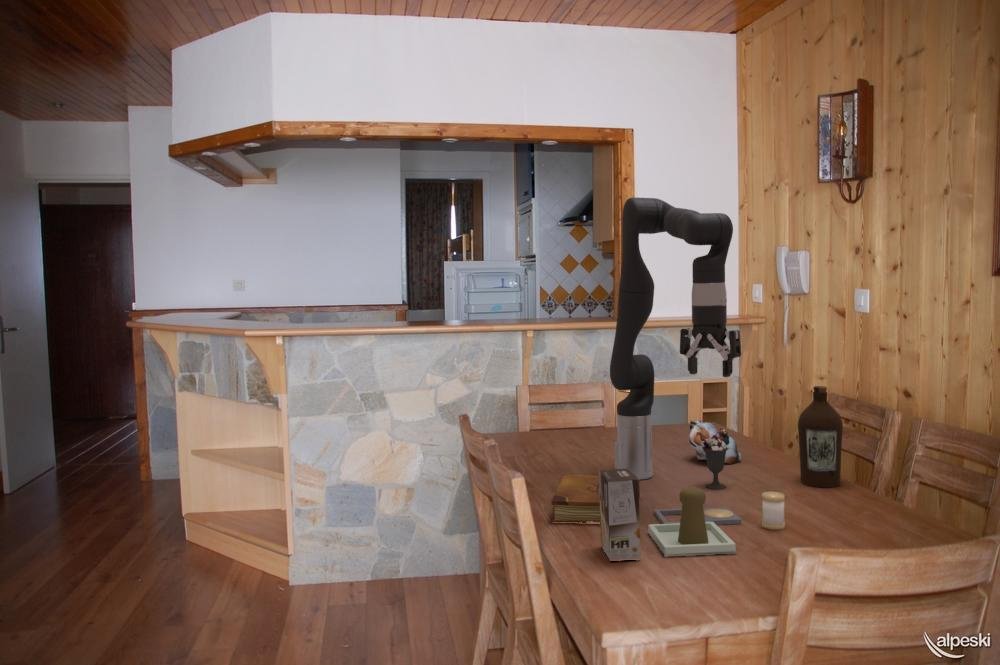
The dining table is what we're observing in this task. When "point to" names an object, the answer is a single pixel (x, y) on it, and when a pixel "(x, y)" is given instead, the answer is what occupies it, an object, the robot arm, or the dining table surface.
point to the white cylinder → (773, 510)
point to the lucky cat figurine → (704, 433)
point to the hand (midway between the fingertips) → (709, 375)
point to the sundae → (715, 458)
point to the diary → (578, 499)
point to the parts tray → (670, 546)
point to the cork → (692, 517)
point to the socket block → (711, 515)
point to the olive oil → (820, 442)
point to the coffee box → (619, 514)
